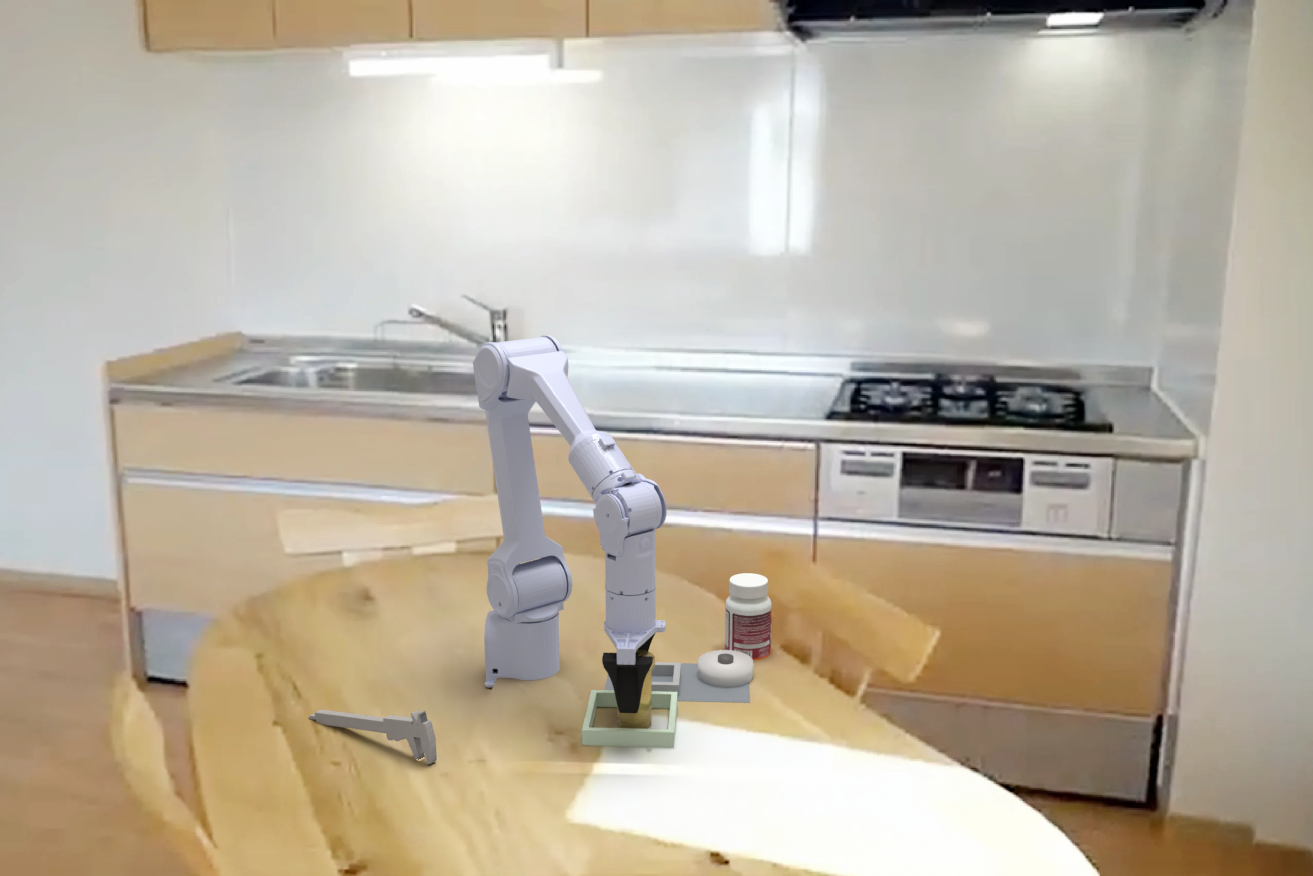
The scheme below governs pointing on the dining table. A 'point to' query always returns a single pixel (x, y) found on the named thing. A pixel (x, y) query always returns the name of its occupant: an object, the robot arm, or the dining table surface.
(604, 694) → the tray
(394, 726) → the caliper
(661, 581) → the dining table surface
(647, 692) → the lock pin
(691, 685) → the board
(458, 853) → the dining table surface
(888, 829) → the dining table surface
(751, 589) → the pill bottle
